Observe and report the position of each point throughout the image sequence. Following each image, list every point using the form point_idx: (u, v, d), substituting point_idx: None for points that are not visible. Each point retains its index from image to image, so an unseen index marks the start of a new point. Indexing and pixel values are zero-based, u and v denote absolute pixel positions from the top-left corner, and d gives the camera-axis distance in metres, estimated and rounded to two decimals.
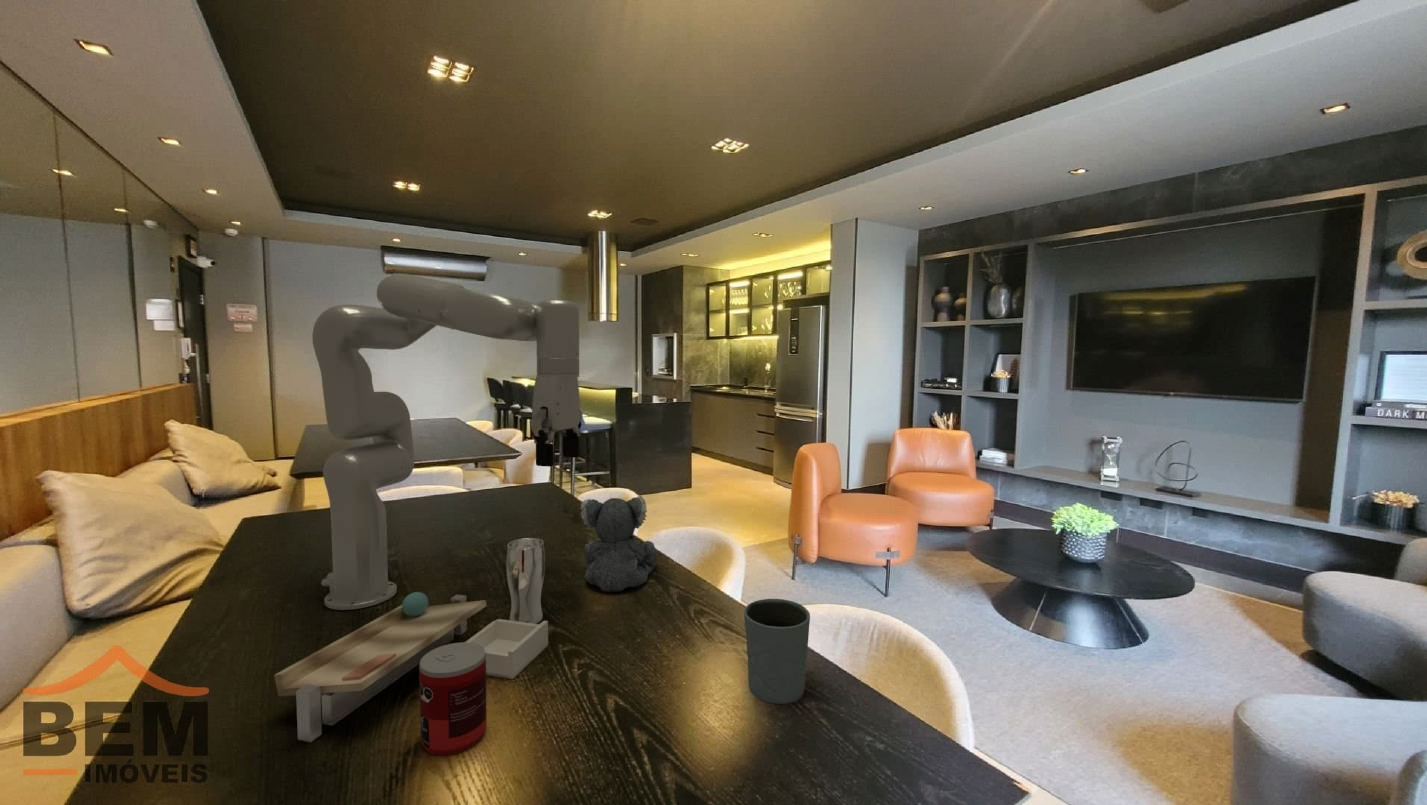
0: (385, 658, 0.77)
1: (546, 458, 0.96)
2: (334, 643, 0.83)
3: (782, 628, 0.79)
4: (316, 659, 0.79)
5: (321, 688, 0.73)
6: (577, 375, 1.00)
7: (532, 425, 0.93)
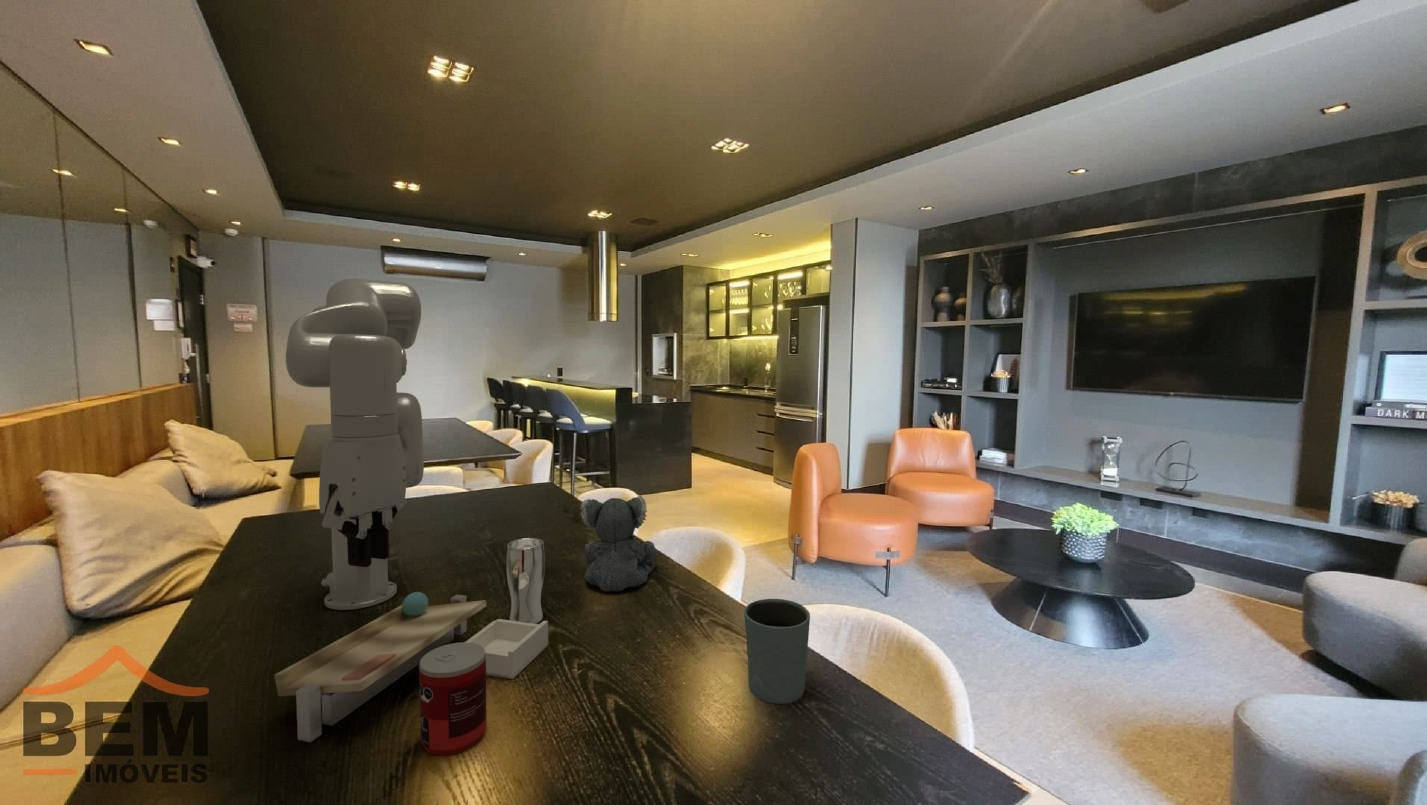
0: (385, 658, 0.77)
1: (359, 557, 0.72)
2: (334, 643, 0.83)
3: (782, 628, 0.79)
4: (316, 659, 0.79)
5: (321, 688, 0.73)
6: (390, 437, 0.73)
7: (328, 527, 0.69)
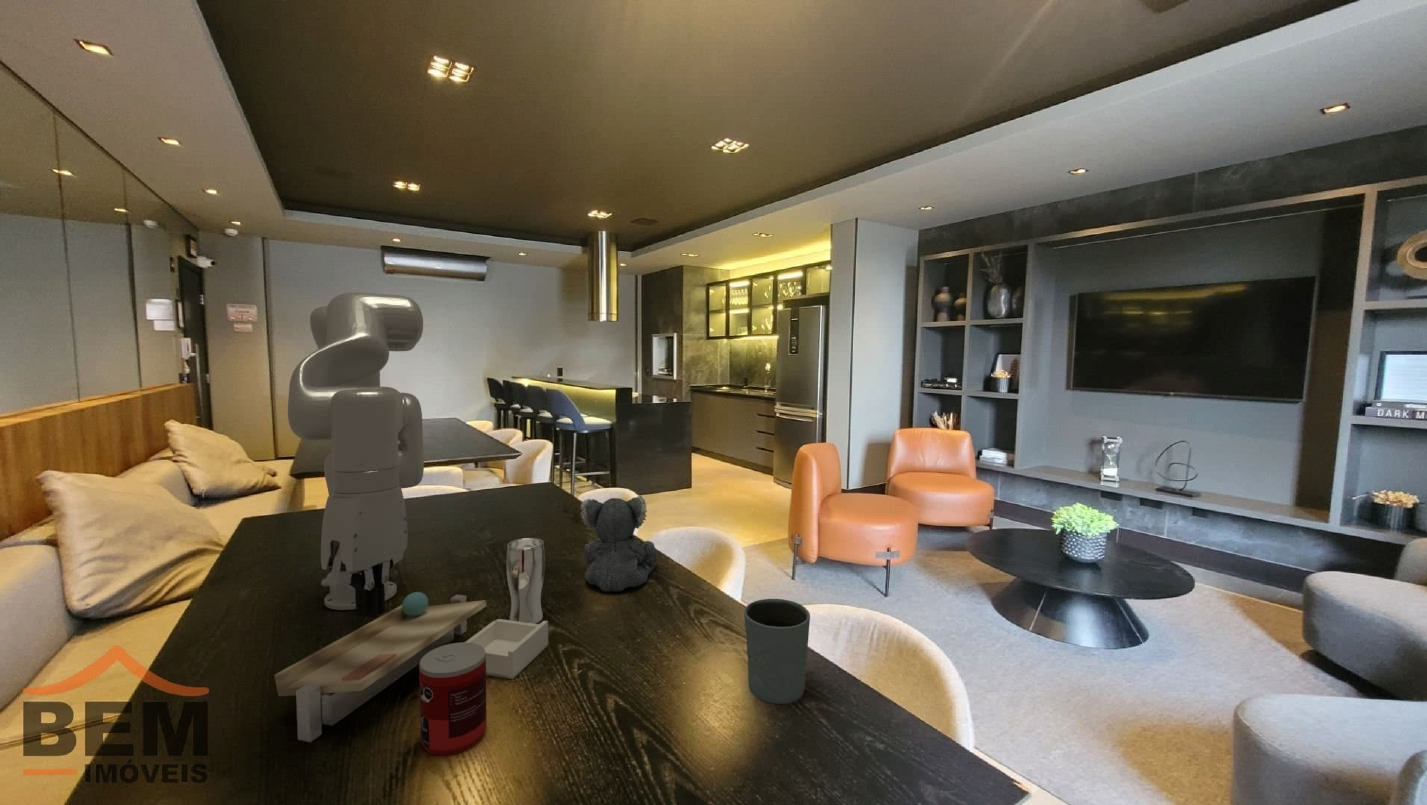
0: (385, 658, 0.77)
1: (367, 608, 0.73)
2: (334, 643, 0.83)
3: (782, 628, 0.79)
4: (316, 659, 0.79)
5: (321, 688, 0.73)
6: (391, 490, 0.73)
7: None
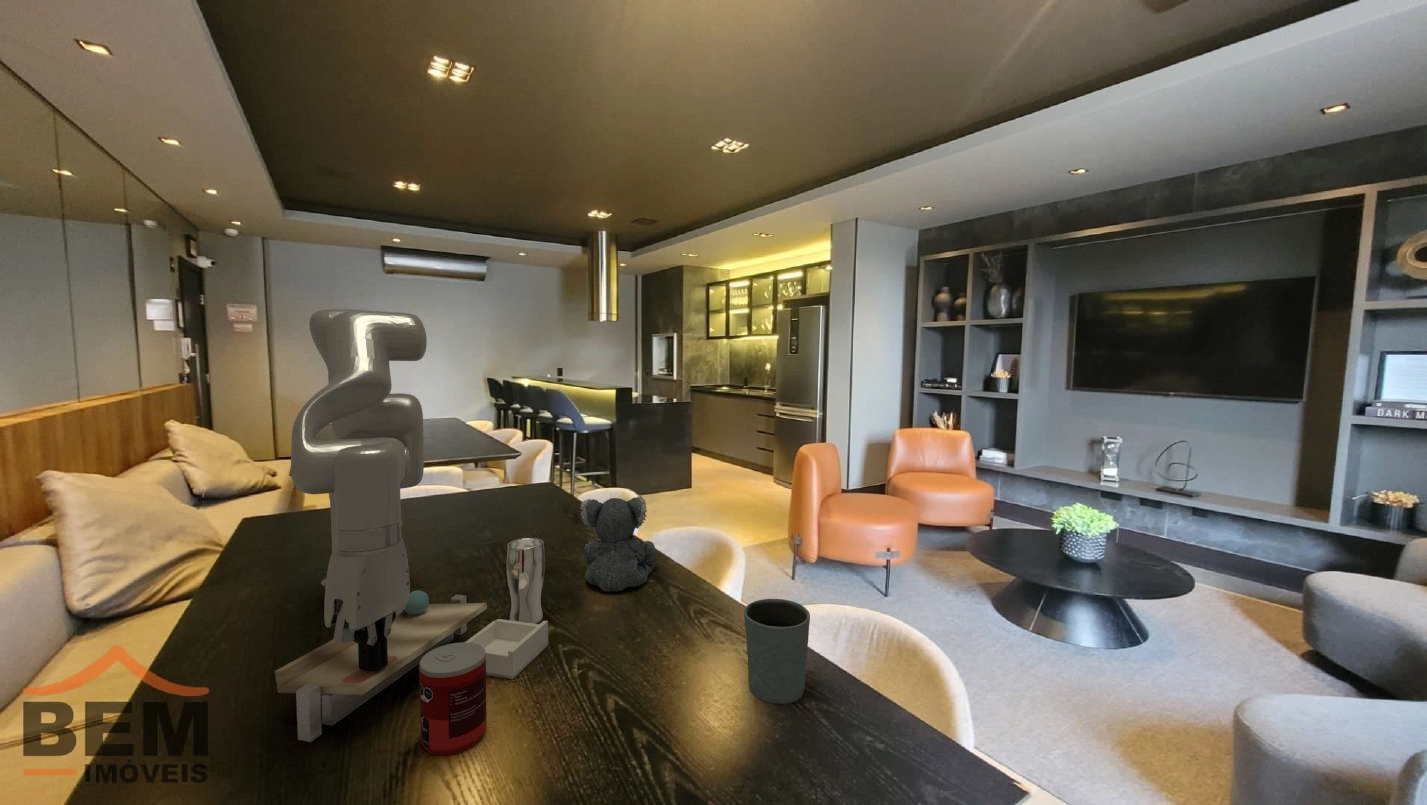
0: None
1: (369, 662, 0.74)
2: None
3: (782, 628, 0.79)
4: (316, 656, 0.79)
5: (321, 688, 0.73)
6: (394, 546, 0.74)
7: None
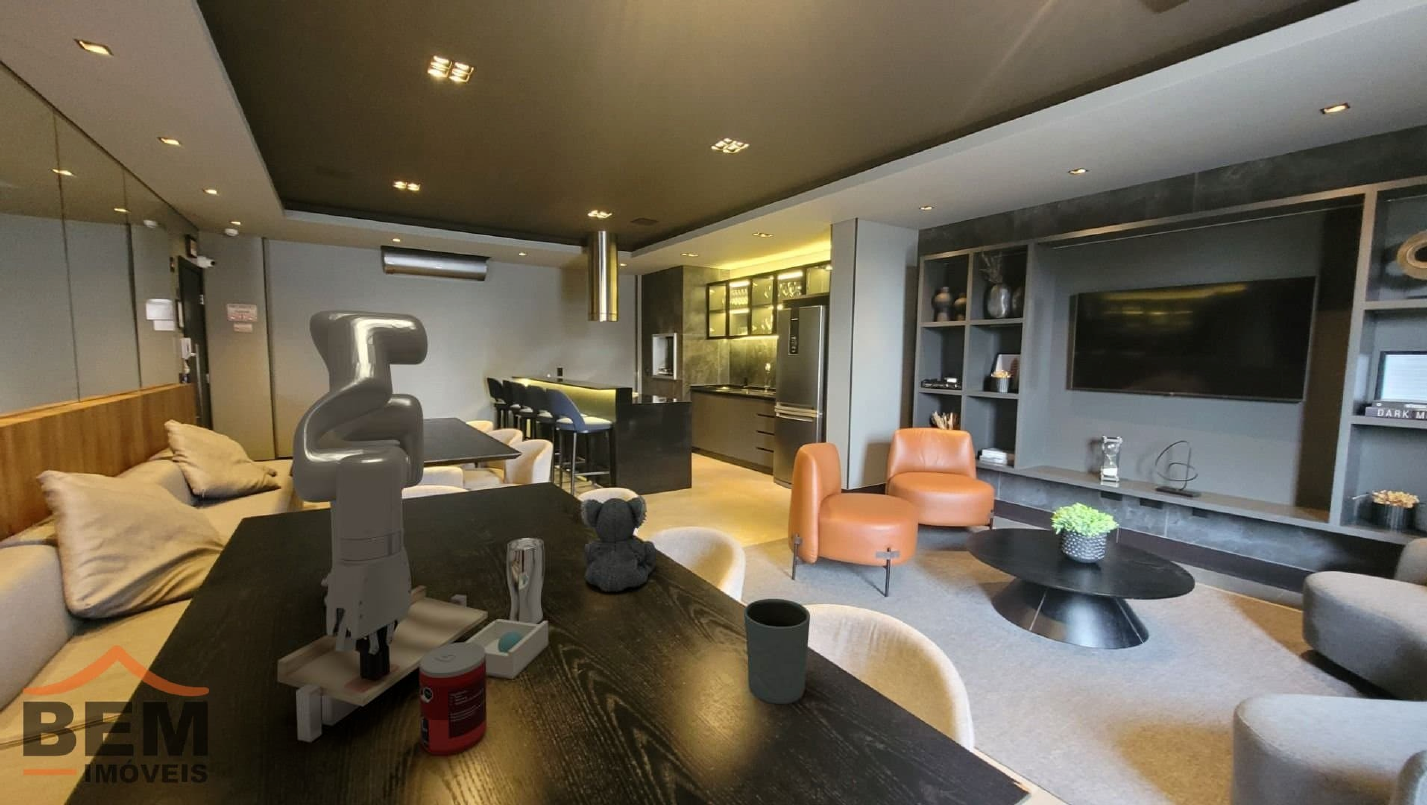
0: None
1: (371, 671, 0.74)
2: None
3: (782, 628, 0.79)
4: (319, 648, 0.79)
5: (322, 689, 0.73)
6: (396, 554, 0.74)
7: None
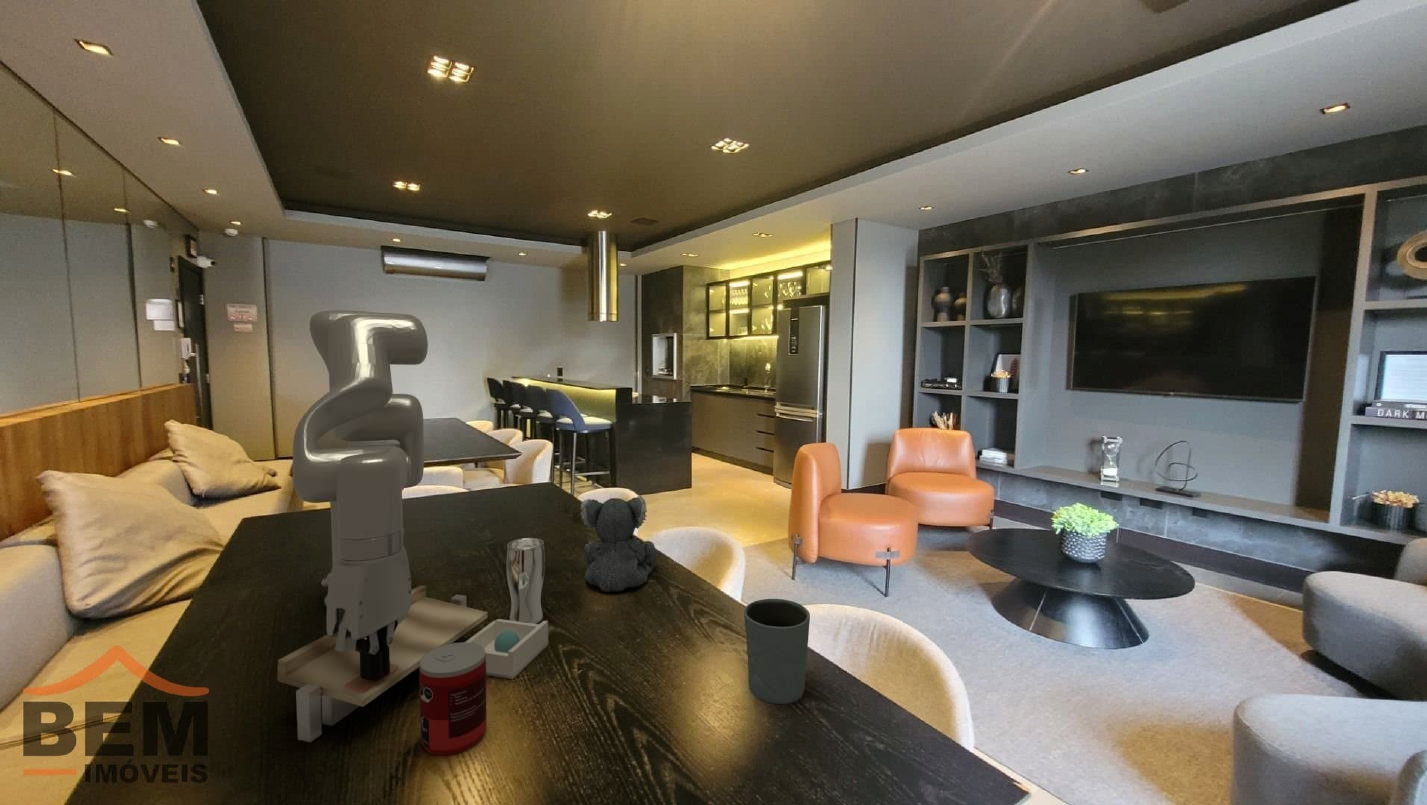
0: None
1: (371, 671, 0.74)
2: None
3: (782, 628, 0.79)
4: (319, 648, 0.79)
5: (322, 689, 0.73)
6: (396, 555, 0.74)
7: None
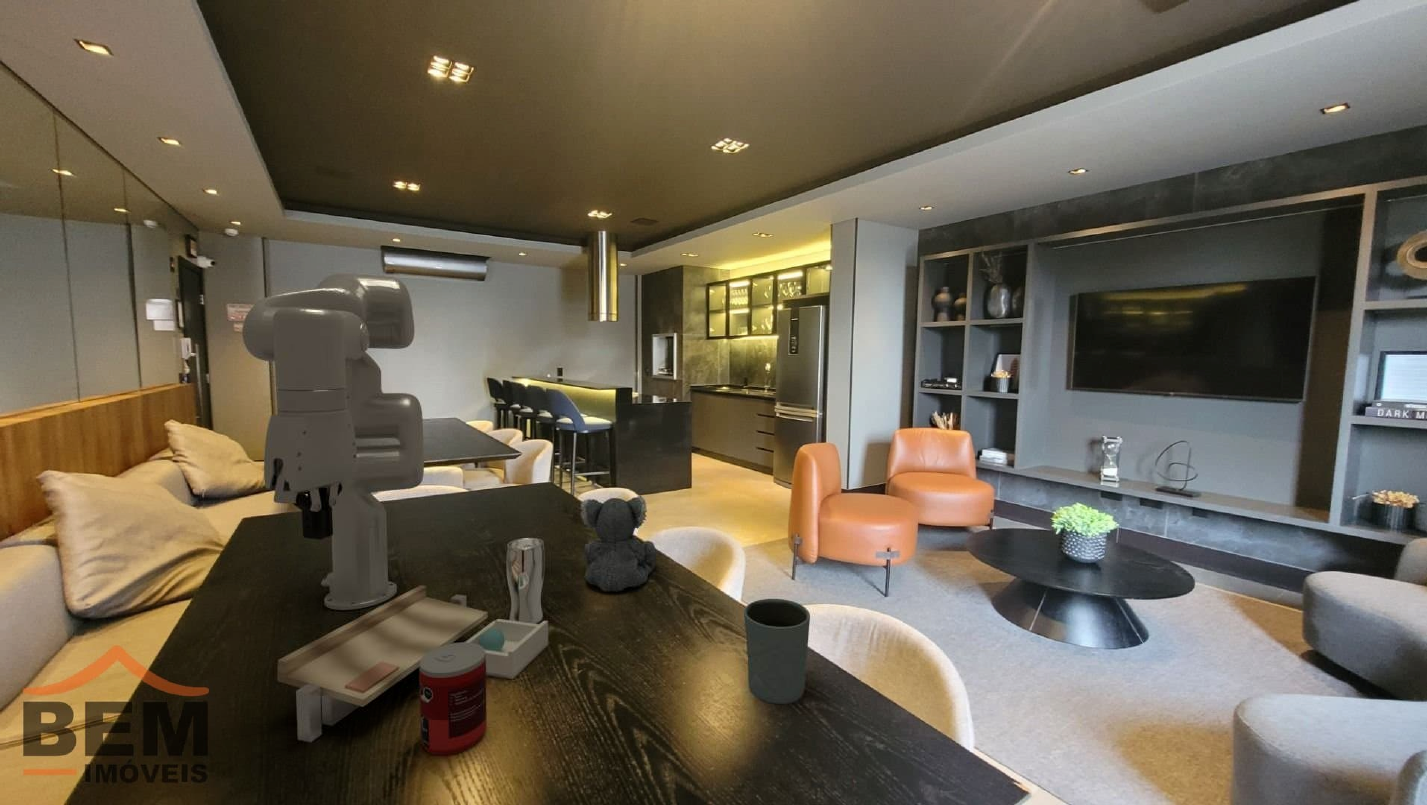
0: (388, 670, 0.77)
1: (313, 529, 0.73)
2: (338, 631, 0.82)
3: (782, 628, 0.79)
4: (319, 648, 0.79)
5: (322, 689, 0.73)
6: (338, 412, 0.72)
7: None
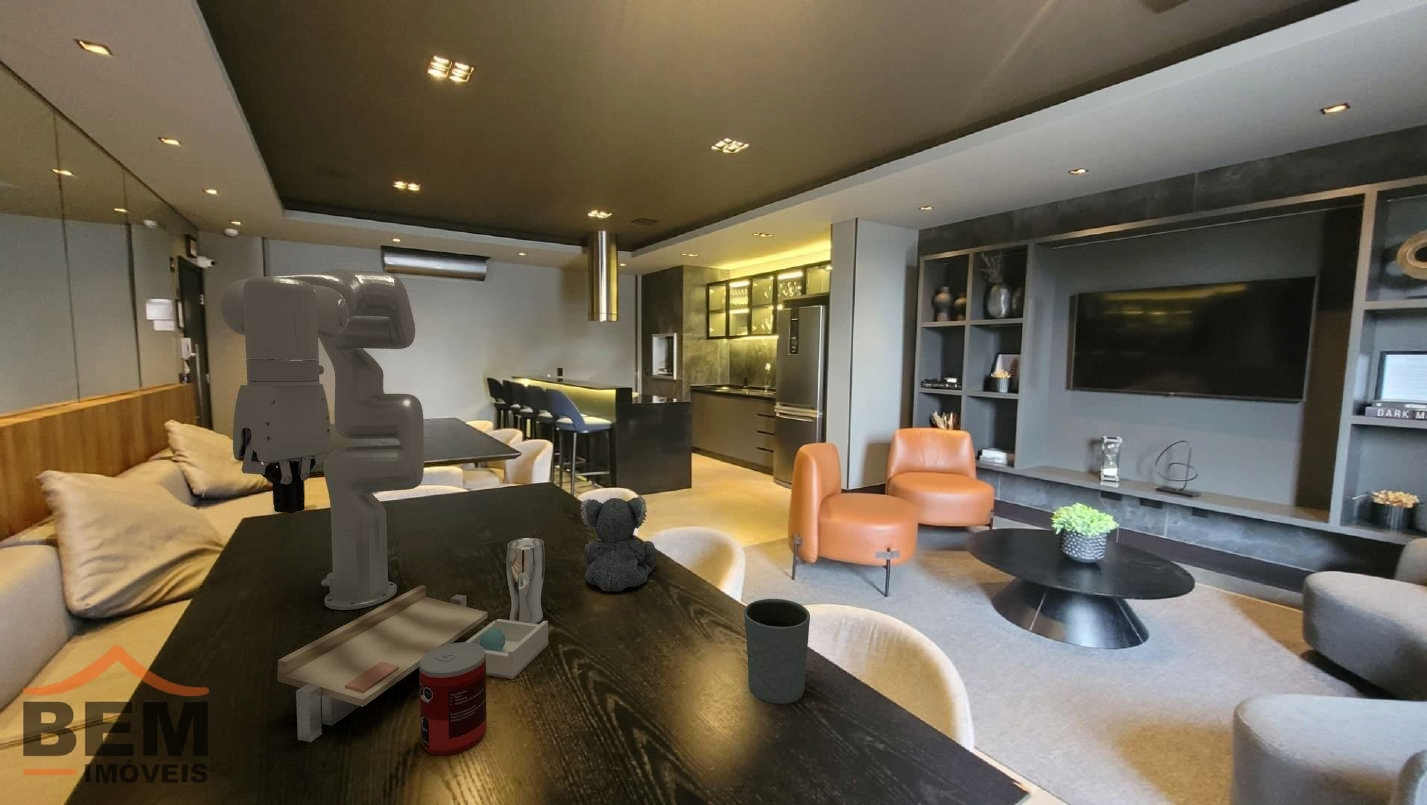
0: (388, 670, 0.77)
1: (284, 502, 0.72)
2: (338, 631, 0.82)
3: (782, 628, 0.79)
4: (319, 648, 0.79)
5: (322, 689, 0.73)
6: (309, 383, 0.71)
7: (249, 473, 0.68)
